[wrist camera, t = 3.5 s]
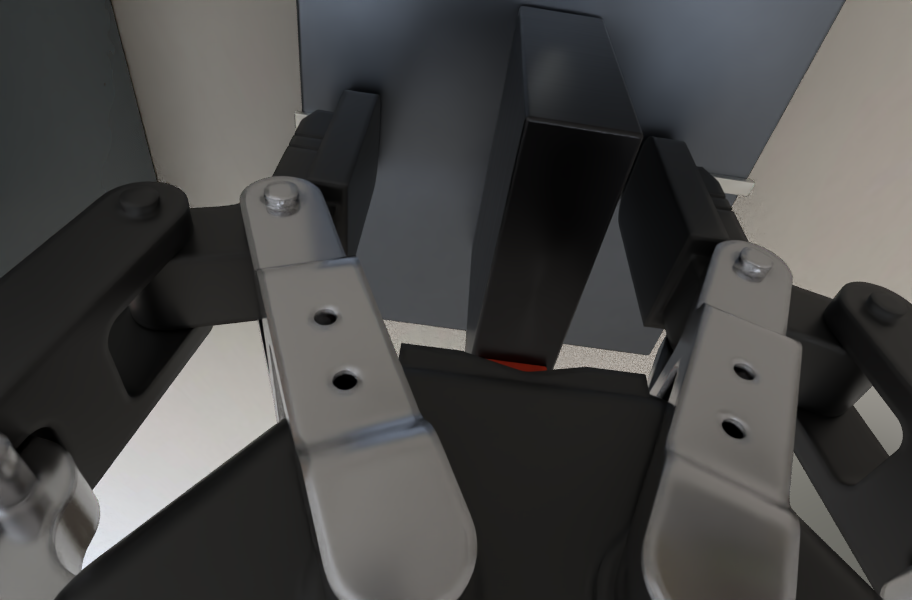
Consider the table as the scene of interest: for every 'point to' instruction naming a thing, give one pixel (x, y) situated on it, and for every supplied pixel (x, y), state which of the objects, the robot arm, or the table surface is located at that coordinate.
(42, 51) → the open rectangular storage box
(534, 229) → the tap handle
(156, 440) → the table surface
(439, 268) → the dark grey rectangular base
